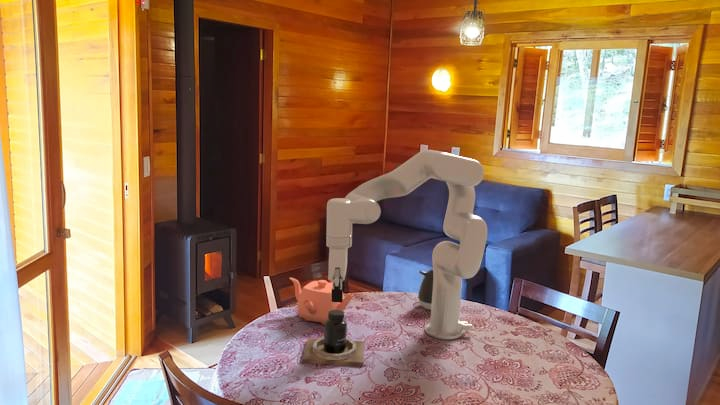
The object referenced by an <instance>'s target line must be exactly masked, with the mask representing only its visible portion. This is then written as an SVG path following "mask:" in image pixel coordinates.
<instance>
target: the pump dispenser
mask: <svg viewBox="0 0 720 405" xmlns="http://www.w3.org/2000/svg"><path fill="white" fill-rule="evenodd" d="M418 273H419V274H420V275H422V276H423V278H422V281H421V282H420V283H421V284H420V286H419V288H418V289H419V290H418V295H417V296H418V297H417V298H418V301H419V304H420V305H421V307H422V308H424V309H426V310H429V311H431V304H432V291H433V268H432V269H429V270H428V271H427V272H426V271H423V270H419V272H418Z"/></svg>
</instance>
